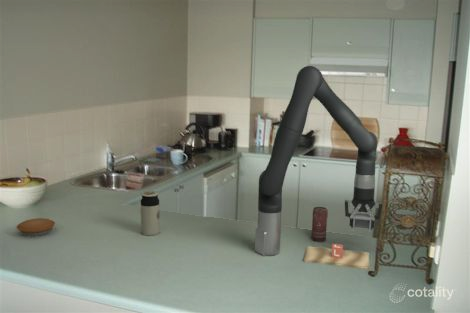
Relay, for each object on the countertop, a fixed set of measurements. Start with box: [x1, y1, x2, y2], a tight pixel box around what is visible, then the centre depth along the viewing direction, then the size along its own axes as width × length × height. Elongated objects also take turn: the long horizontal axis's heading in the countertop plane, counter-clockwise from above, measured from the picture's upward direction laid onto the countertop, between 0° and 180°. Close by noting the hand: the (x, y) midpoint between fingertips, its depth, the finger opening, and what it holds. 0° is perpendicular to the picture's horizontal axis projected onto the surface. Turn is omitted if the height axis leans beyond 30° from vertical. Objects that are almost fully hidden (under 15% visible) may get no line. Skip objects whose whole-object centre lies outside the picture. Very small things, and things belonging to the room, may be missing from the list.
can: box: [311, 206, 329, 243], centre depth 206 cm, size 6×6×14 cm
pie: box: [16, 217, 56, 238], centre depth 210 cm, size 16×16×5 cm
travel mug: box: [140, 190, 161, 236], centre depth 211 cm, size 8×8×18 cm
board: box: [303, 245, 370, 270], centre depth 187 cm, size 24×14×1 cm, turn 76°
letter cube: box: [331, 243, 344, 259], centre depth 187 cm, size 4×4×4 cm
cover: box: [352, 212, 372, 234], centre depth 183 cm, size 6×6×6 cm
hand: (361, 228), depth 183 cm, fingers closed on cover, 6 cm apart
